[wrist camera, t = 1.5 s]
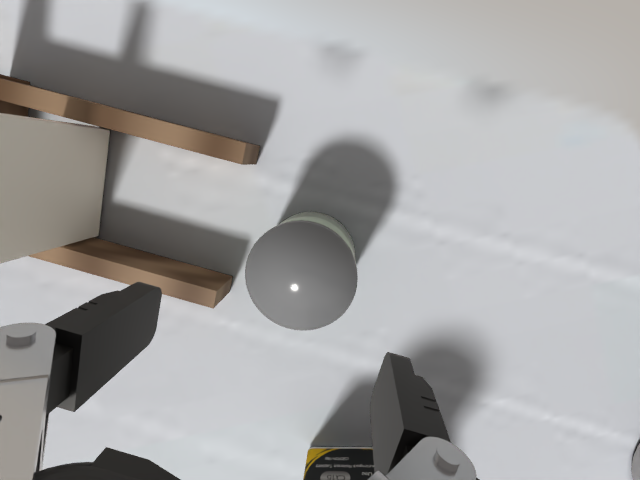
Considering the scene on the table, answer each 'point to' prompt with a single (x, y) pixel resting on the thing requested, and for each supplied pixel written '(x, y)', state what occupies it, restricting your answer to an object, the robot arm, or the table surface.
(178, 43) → the table surface
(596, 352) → the table surface
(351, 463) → the medicine bottle
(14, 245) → the pusher plate
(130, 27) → the table surface
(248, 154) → the lane
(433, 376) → the table surface
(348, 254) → the jar
